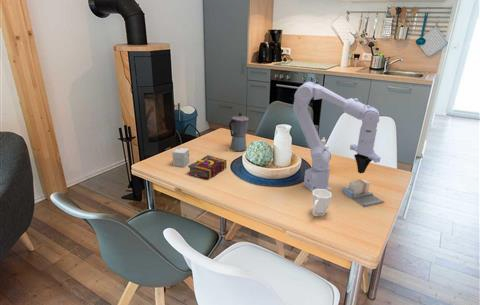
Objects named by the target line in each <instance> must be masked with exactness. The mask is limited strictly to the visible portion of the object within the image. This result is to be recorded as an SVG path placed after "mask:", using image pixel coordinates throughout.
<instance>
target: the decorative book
mask: <svg viewBox="0 0 480 305" xmlns="http://www.w3.org/2000/svg"><path fill="white" fill-rule="evenodd" d="M187 168H189V172H188V174H187V175H188V176H190V177H192V176H193V177H198V178H201V179H202V178H203V179H205V180H210V179H211V178H215V177H216V175H217V174H219V173H222V172H224V170H225V169H227V160H226V159H222V158H219V157H215V156H213V155H210V154H209V155H208V154H207V155H205V156H203V158H200V159H197V160H196V162H193V163H191V164H189V165H187Z"/></svg>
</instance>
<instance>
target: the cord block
mask: <svg viewBox="0 0 480 305" xmlns="http://www.w3.org/2000/svg"><path fill="white" fill-rule="evenodd" d="M370 184H371V182H369V181H367V180H366V179H357V180H349V182H348V188H349V190H350V191H352V192H353V195H352V196H355V195H360V193H363V194H365V193H368V192H369V190H370V189H369V188H370Z"/></svg>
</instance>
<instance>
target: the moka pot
mask: <svg viewBox="0 0 480 305" xmlns="http://www.w3.org/2000/svg"><path fill="white" fill-rule="evenodd" d="M249 121H250V119H249V117H248V116H245V115H243V114H242V113H241V112H238V115H237V116H234V115H233V116H232V117H230V122H229V123H228V125H229V126H228V127H229V130H230V131H229V132H230V136H231V142H230V151H231V150H232V151H234V152H244V151H246V150H247V140H246V139H247V138H246V135H247V132H248V126H249Z"/></svg>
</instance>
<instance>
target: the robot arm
mask: <svg viewBox="0 0 480 305" xmlns="http://www.w3.org/2000/svg"><path fill="white" fill-rule="evenodd" d="M312 99H313V101H315V100H321V99H323V100H325V101H327V102H329V103H331V104H334V105H336V106H338V107H340V108H342V112H343V113H345V114H347V115H349V116H351V117H353V118H355V119H357V120H359V121H360V120H361V122H362V123H361V126H360V128H359V135H358V141H357V144H350V147H349V150H350V151H354V152H356V154H354V155H353V157H354V159H355V162H356V166H357V173H359V174H365V171H366V170H367V168H368V166H369V165H370V163H371V162H372V161H373V162H374V163H376V164H377V163H380V162H381V157H380V156H379V155H378V154H377V153H375V149H374V147H375V140H376V138H377V137H376V136H377V131H378V129H377V128H378V124H379V122H380V112H379V110H378V109H377V108H376V107H374V106H371V105H369V104H365V103H362V102H361V101H359V98H356V97H354V98H352V97H350V98H347V99H346V98H344V97H342V96H341V95H339V94H337V93H335V92H334V91H332V90H330V89H328V88H326V87H325V86H322V85H321V84H318V83H315V82H313V81H310V80H308V81H306V82H304V83H303V84H302V85H300V86H299V87H297V89H296V91H295V93H294V100H293V106H292V107H293V108H292V110H293V113H294V116H296V120H297V121H298V124H299V127H300V129H301V131H302V133H303V136H304V139H305V140H306V143H307V146H308V147H309V150H310V157H311V159H312V160H311V165H312V166H310V168H308V169H306V170H305V171H304V179H303V183H302V186H304V187H306V189H307V190H309V191H310V192H311V193H313V190H316V189H325V190H327V191H329V190H332V187H331V186H329V177H330V171H331V166H330V165H329V163H330V161H331V160H332V159H331V158H332V155H331V152H330V151H329V149H328V150H327V149H326V148H325V146H324V145H323V144H322V143H321V140H322V139H320V136H319V134H318V131H317V129H316V126H315V125H314V122H313V120H312V118H311V114H310V112H309V110H308V106H309V104H310V102H311V100H312Z"/></svg>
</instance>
